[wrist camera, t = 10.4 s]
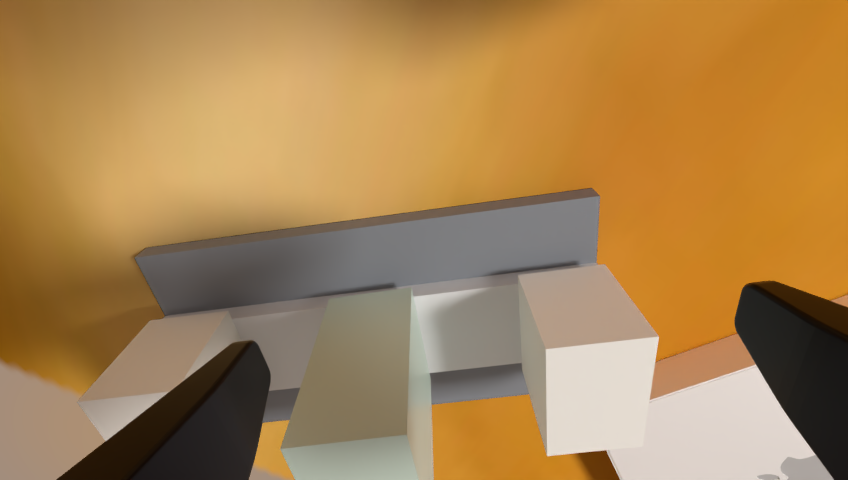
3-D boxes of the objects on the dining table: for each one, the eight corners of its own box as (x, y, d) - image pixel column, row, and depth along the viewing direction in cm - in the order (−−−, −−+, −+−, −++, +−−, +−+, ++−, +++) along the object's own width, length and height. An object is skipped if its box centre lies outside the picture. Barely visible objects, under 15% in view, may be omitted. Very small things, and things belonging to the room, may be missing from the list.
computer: (960, 475, 31) (1005, 514, 29) (657, 553, 36) (675, 592, 33) (986, 238, 22) (1055, 265, 19) (575, 384, 26) (591, 420, 24)
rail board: (592, 188, 20) (669, 265, 14) (583, 374, 25) (636, 489, 19) (146, 247, 21) (33, 342, 15) (230, 413, 27) (172, 532, 21)
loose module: (411, 287, 20) (406, 434, 13) (430, 379, 23) (435, 542, 16) (329, 298, 20) (280, 449, 13) (358, 388, 23) (330, 552, 16)
